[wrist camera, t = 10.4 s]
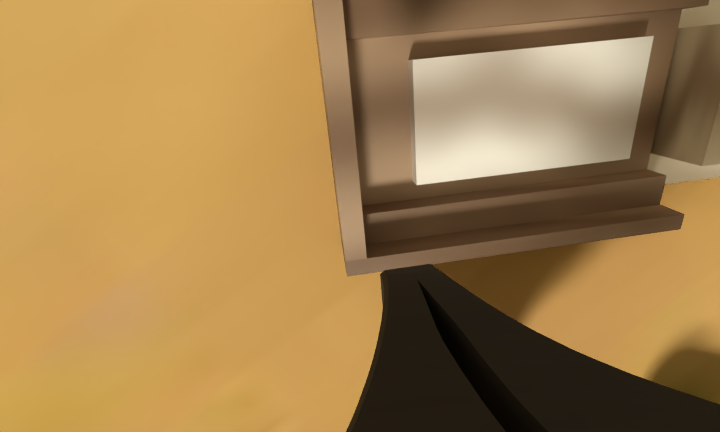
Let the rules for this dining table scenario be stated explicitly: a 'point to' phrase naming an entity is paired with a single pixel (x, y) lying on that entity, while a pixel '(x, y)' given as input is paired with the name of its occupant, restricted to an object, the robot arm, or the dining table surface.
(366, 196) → the brown shallow rimmed piece
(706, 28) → the cover plate
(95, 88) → the dining table surface
